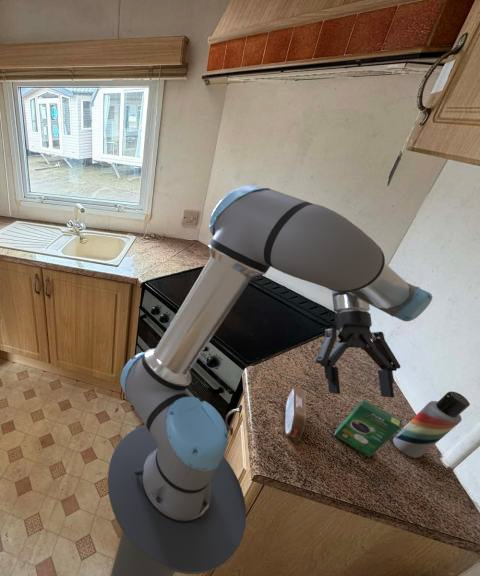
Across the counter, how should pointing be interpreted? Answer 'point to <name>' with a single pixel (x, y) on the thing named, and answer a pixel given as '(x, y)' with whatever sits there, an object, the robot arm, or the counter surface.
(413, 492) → the counter surface
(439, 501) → the counter surface
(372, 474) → the counter surface
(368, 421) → the coffee box
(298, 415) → the tin
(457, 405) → the lotion bottle
